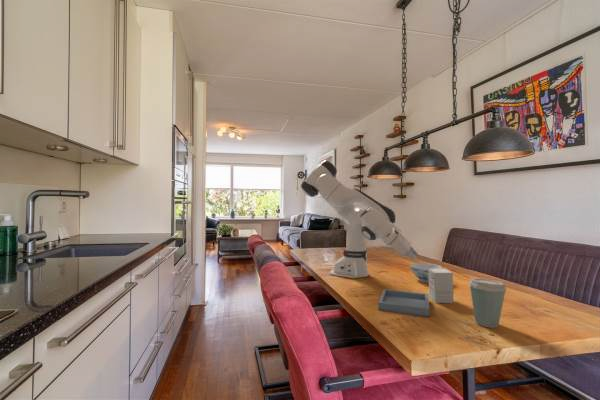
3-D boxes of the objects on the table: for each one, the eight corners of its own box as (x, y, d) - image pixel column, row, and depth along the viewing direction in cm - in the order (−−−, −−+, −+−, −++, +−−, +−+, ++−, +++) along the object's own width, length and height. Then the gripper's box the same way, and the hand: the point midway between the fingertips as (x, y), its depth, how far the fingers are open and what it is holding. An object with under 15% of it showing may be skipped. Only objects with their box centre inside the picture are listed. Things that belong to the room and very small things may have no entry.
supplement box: (446, 297, 122) (445, 268, 122) (453, 303, 114) (453, 272, 115) (428, 297, 123) (428, 268, 123) (435, 303, 115) (434, 272, 115)
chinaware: (404, 279, 152) (404, 264, 152) (424, 275, 158) (424, 262, 158) (427, 286, 138) (427, 270, 138) (448, 282, 144) (448, 267, 144)
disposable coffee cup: (471, 315, 102) (471, 274, 103) (508, 322, 96) (507, 279, 96) (466, 325, 94) (466, 280, 94) (506, 334, 87) (505, 286, 88)
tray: (378, 310, 108) (378, 302, 108) (383, 295, 125) (383, 289, 125) (429, 317, 101) (429, 308, 101) (428, 300, 118) (427, 293, 118)
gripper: (389, 236, 136) (412, 257, 132) (384, 243, 117) (410, 267, 113) (398, 227, 134) (421, 247, 130) (394, 233, 115) (421, 257, 111)
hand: (416, 257), depth 121 cm, fingers open, 8 cm apart
